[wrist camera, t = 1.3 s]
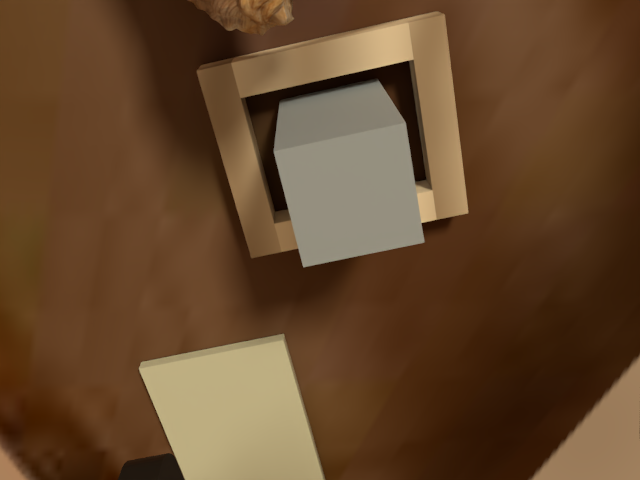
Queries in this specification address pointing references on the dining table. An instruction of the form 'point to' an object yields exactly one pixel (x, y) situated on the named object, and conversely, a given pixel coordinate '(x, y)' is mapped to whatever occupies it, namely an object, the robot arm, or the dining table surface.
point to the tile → (234, 412)
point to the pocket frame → (323, 63)
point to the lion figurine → (248, 13)
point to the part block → (347, 173)
